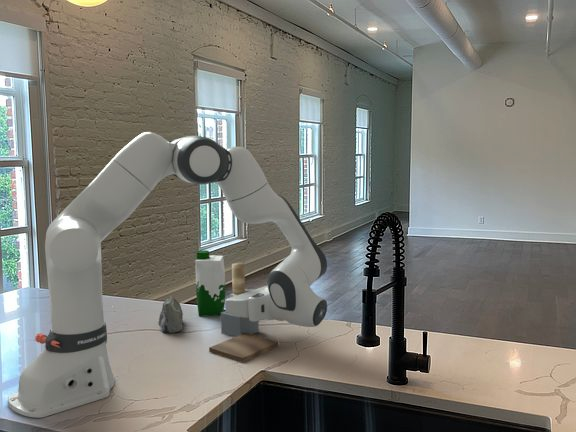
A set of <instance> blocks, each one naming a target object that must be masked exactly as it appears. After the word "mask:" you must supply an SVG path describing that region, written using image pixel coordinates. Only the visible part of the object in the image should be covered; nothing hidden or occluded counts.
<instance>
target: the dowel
mask: <svg viewBox="0 0 576 432" xmlns="http://www.w3.org/2000/svg"><path fill="white" fill-rule="evenodd" d="M245 266H246V265H245V263H243V262H235V263H234V262H233V263H231V279H232V280H231V281H232V283H231V284H232V285H231V286H232V293H234V294H237V295H240V294H243V293H245V289H246V272H245V269H246V267H245Z"/></svg>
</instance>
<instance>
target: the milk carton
mask: <svg viewBox="0 0 576 432" xmlns="http://www.w3.org/2000/svg"><path fill="white" fill-rule="evenodd" d="M224 259H225V258H224V255H216V254H214V255H210V251H209V250H205V249H203V250H197V251H196V258H195V260H194V263H195V268H194V269H195V287H196V288H195V289H196V290H195V291H196V306H197V313H198V317H221V313H222V312H224V310H225V300H226V271H225V260H224Z"/></svg>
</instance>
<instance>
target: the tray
mask: <svg viewBox="0 0 576 432" xmlns="http://www.w3.org/2000/svg"><path fill="white" fill-rule="evenodd" d="M277 347H279V341H277V340H273V339H270V338H266V337H262V336H259V335H255V334H248V333H244V334H241V335H239V336H236V337H234V336H233V337H231V338H229V339H227V340H224V341H222V342H219V343H217V344H214V345H212V346H209V347H208V348H209V349H208V352H209V353H212V354H215V355H218V356H221V357H224V358H228V359H231V360H234V361H236V362H241V363H245V362H248V361H249V360H252V359H253V358H256V357H258V356H260V355H263V354H264V353H267V352H269V351H271V350H273V349H275V348H277Z"/></svg>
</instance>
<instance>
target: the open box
mask: <svg viewBox="0 0 576 432" xmlns="http://www.w3.org/2000/svg"><path fill="white" fill-rule="evenodd" d="M259 322H260V321H255V322H254V321H250V320H249V318H243V317H239V316H235V315H232V314H229V313H227V312H226V310H225V311H223V312H222V313H221V316H220V332H221V334H224V335H226V336H230V337H233V338H234V337H236V336H239V335H241V334H244V333H248V334H252V335H254V334H255V333H257V332H259V331H260V328H259V326H260V325H259V324H260V323H259Z"/></svg>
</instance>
